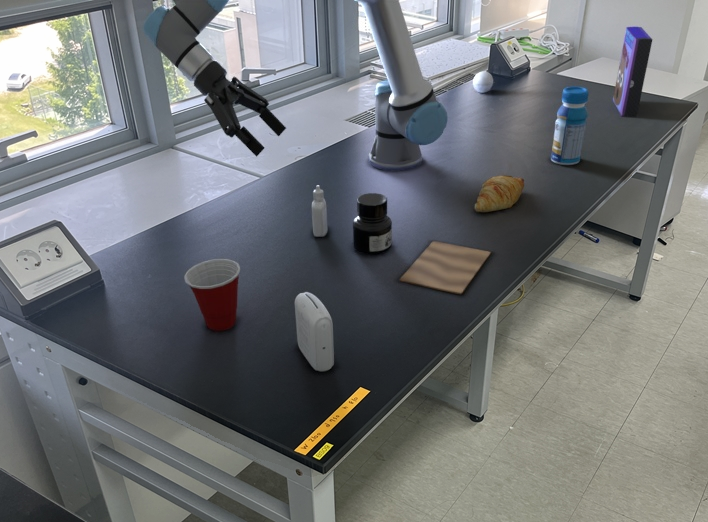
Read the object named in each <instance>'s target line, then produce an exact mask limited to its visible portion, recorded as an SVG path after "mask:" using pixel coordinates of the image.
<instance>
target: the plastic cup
mask: <svg viewBox="0 0 708 522" xmlns="http://www.w3.org/2000/svg"><path fill="white" fill-rule="evenodd" d="M240 272H241V267H240V264H239V263H238V262H237V261H234V260H233V259H229V258H213V259H209V260H204V261H202V262H199V263H197V264H195V265H193V266H192V267H190V268H189V269H188V270H186V273H185V274H184V276H183V278H184V282H185V284H186V285H188V286H189V287H190V289H191V291H192V293H193V295H194V297H195V299H196V302H197V305H198V307H199V310H200V312H201V315H202V317H203V319H204V322H205V325H206V327H207V328H208V329H210V330H212V331H215V332H221V331H227V330H229V329H231V328H232V327H234V326H235V324H236V321H237V308H238V290H239V289H238V287H239V276H240Z"/></svg>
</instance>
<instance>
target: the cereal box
mask: <svg viewBox="0 0 708 522" xmlns="http://www.w3.org/2000/svg"><path fill="white" fill-rule="evenodd" d="M623 38H624V39H623V43H622V49H621V53H620V59H619V65H618V69H617V70H618V71H617V76H616V81H615V86H614V92H613V96H612V97H613V98H612V102H613V104H614V106H615V107H616V110H617V111H618V113H619V115H620V117H625V118H626V117H627V118H628V117H629V118H630V117H631V118H632V117H633V118H635V117H636V118H637V117H638V111H639V107H640V103H641V97H642V92H643V88H644V83H645V77H646V73H647V70H648V69H647V68H648V63H649V60H650V59H649V58H650V54H651V49H652V44H653V38H652V37H651V36H650V35H649V34H648V32H647V31H646V30H645V29H644V28H643V27H642V26H626V27H625V32H624V37H623Z"/></svg>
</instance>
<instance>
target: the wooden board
mask: <svg viewBox="0 0 708 522" xmlns="http://www.w3.org/2000/svg"><path fill="white" fill-rule="evenodd" d="M491 254H492V251H487V250H484V249H478V248H472V247H467V246H461V245H457V244H452V243H448V242H447V243H446V242H441V241H437V240H432V242H431V243H430V244H429V245H428V247H426V248H425V249H424V251H423V252H422V253H421V254H420V255H419V257H417V259H416V260H415V261H414V262H413V264H411V266H410V267H409V268H408V269H407V270H406V272H404V273H403V275H402V276H401V277H400V278H399V279H398V280H399V282H402V283H406V284H410V285H415V286H419V287H424V288H428V289H432V290H437V291H442V292H447V293H451V294H456V295H460V296H461V295H463V293H464V292H465V290H466V288H467V287H468V286H469V285H470V283H471V282H472V281H473V280H474V278H475V276H476V275H477V274H478V272H479V270H481V268H482V267H483V265H484V264H485V262H486V261H487V260H488V258H489V257H490V255H491Z"/></svg>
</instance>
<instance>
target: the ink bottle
mask: <svg viewBox="0 0 708 522" xmlns="http://www.w3.org/2000/svg"><path fill="white" fill-rule="evenodd" d="M356 208H357V209H356V210H357V216H356V217H355V218H354V219H353V222H352V234H353V235H352V237H353V239H352V241H353V249H354V250H355V251H356V252H358V253H360V254H362V255H368V256H377V255H382V254H384V253H387V252H388V251H389V250H391V248H392V244H393V243H392V242H393V221H392V219H391V218H390V217H389V216H388V197H387V196H386V195H384V194H381V193H378V192H377V193H376V192H375V193H373V192H369V193H364V194H361V195H359V196H358V197H357V201H356Z"/></svg>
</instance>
